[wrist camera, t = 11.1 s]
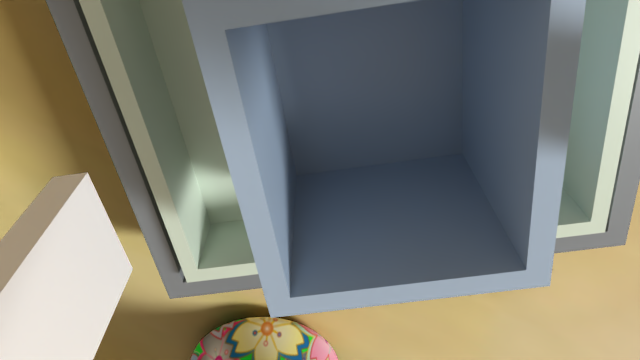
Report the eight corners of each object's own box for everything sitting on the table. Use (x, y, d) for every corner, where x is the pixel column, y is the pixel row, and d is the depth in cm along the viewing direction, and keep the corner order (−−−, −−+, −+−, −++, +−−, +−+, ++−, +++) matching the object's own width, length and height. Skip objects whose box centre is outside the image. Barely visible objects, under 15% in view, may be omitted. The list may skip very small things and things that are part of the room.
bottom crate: (56, -134, 16) (-12, -137, 13) (642, -239, 15) (740, -273, 12) (190, 239, 24) (169, 298, 21) (578, 190, 23) (625, 244, 20)
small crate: (233, -48, 16) (181, -1, 10) (479, -88, 16) (594, -66, 9) (283, 183, 21) (270, 318, 14) (475, 157, 20) (549, 285, 14)
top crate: (96, -97, 16) (43, -92, 13) (609, -187, 15) (688, -203, 12) (204, 226, 23) (186, 282, 20) (562, 181, 22) (605, 232, 19)
